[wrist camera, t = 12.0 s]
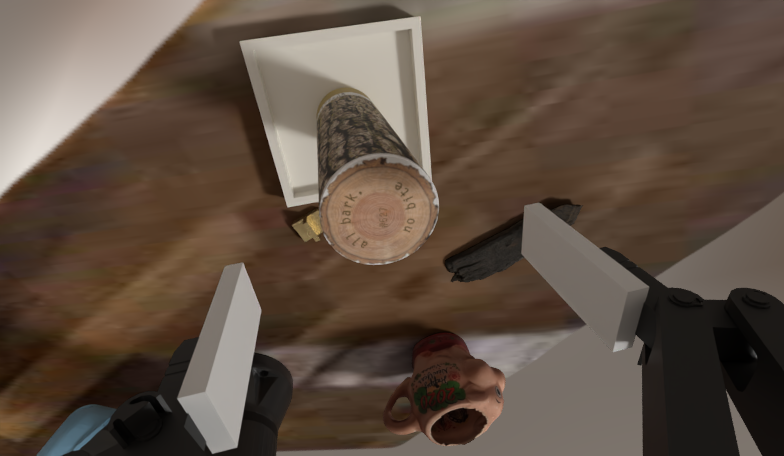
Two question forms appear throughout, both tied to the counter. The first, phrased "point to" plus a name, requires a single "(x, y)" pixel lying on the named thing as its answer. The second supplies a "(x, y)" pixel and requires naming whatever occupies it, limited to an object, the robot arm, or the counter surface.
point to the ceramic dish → (332, 71)
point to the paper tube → (369, 183)
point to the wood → (498, 250)
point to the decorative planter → (448, 393)
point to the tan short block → (309, 225)
